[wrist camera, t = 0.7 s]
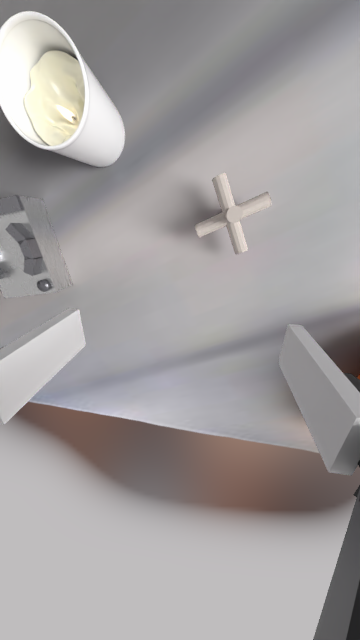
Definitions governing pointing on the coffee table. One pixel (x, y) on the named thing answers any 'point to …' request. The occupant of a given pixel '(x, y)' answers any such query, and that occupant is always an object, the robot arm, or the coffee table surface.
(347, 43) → the coffee table surface
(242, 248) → the pipe connector
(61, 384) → the coffee table surface
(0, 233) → the cradle fixture plate
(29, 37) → the candle holder
